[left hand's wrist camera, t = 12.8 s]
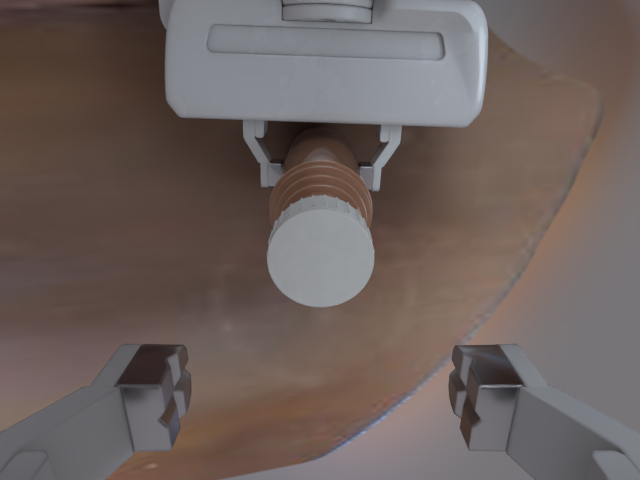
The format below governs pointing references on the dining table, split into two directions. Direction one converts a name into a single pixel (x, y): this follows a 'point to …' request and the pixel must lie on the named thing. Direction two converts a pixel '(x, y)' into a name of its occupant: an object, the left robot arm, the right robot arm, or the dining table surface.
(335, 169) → the bottle
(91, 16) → the dining table surface
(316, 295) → the cap
